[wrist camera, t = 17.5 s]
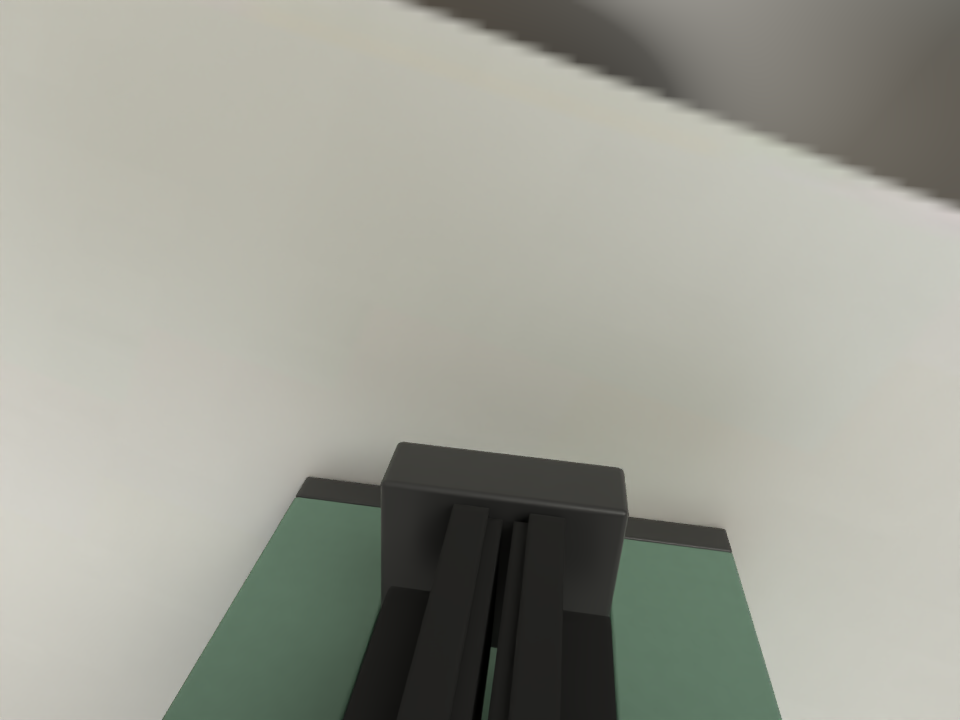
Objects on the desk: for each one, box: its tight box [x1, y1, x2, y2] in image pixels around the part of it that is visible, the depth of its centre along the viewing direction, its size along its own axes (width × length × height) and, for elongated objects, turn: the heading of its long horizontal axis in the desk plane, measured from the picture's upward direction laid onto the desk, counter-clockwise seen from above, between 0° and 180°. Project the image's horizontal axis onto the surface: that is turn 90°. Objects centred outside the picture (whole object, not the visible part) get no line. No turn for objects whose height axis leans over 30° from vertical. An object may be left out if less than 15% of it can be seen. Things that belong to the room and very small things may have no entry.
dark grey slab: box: [381, 442, 629, 648], centre depth 11 cm, size 3×4×1 cm
